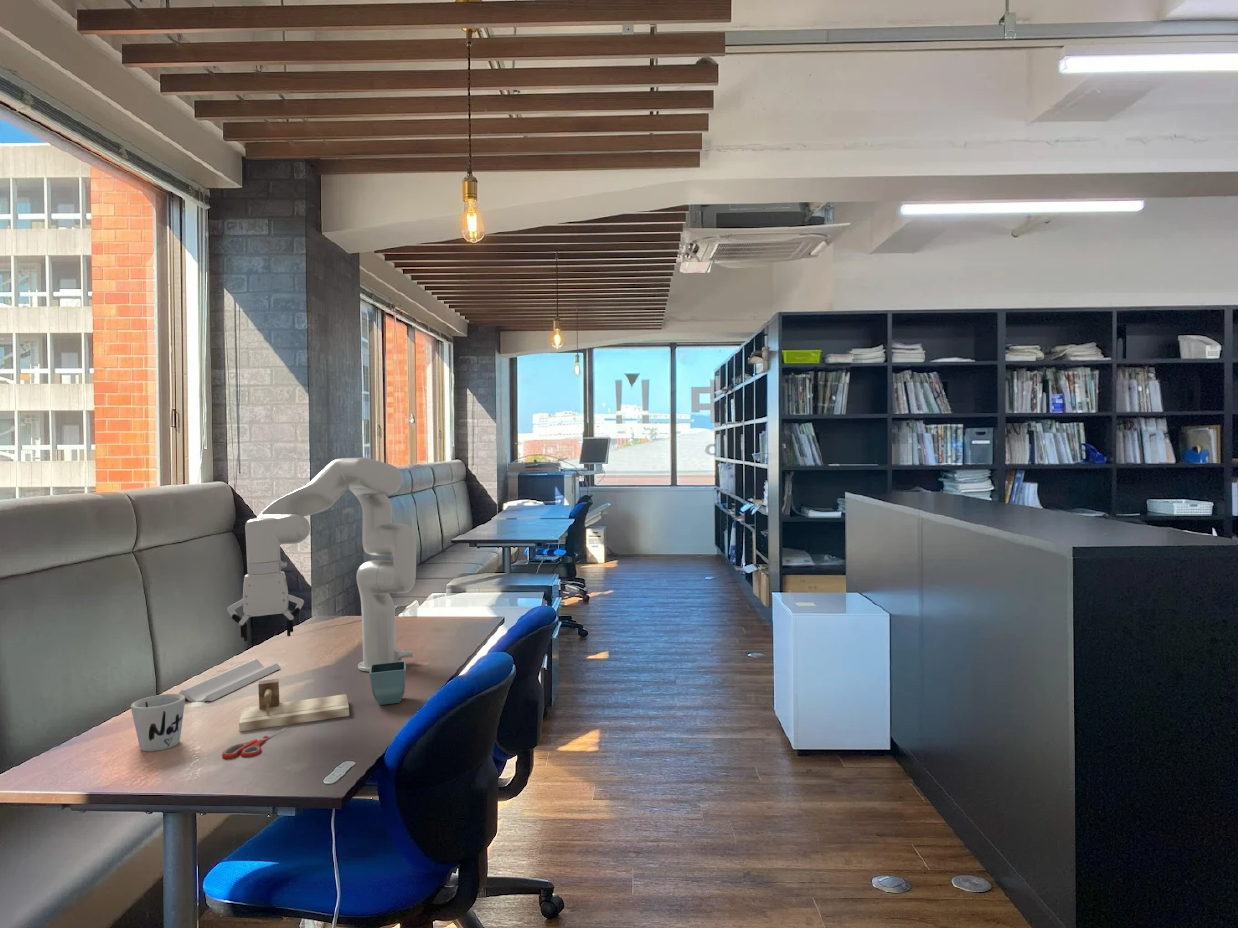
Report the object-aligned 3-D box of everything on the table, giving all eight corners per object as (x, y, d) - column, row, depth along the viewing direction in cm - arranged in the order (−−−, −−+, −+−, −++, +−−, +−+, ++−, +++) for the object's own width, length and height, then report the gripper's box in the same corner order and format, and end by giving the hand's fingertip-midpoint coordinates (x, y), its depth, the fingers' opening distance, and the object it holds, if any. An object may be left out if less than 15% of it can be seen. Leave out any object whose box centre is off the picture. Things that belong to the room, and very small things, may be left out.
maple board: (346, 701, 203) (346, 693, 203) (349, 715, 191) (348, 707, 191) (242, 715, 194) (242, 707, 194) (239, 731, 183) (238, 722, 183)
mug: (148, 757, 168) (146, 710, 168) (112, 745, 176) (110, 700, 176) (196, 741, 177) (195, 697, 177) (160, 731, 185) (158, 688, 185)
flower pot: (370, 709, 196) (369, 672, 196) (371, 698, 205) (370, 664, 205) (407, 704, 199) (406, 669, 198) (407, 694, 207) (405, 660, 207)
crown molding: (211, 704, 206) (211, 690, 206) (170, 703, 208) (169, 690, 208) (280, 670, 237) (280, 658, 237) (243, 670, 239) (243, 658, 239)
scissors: (296, 726, 187) (295, 720, 187) (253, 760, 166) (253, 753, 166) (263, 726, 187) (263, 720, 187) (217, 761, 166) (217, 754, 166)
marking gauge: (279, 707, 198) (278, 677, 198) (278, 722, 186) (277, 690, 186) (260, 709, 197) (259, 679, 196) (257, 725, 185) (256, 693, 185)
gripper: (302, 563, 201) (305, 630, 202) (226, 569, 195) (229, 638, 195) (302, 567, 194) (305, 636, 195) (223, 573, 188) (227, 645, 188)
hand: (267, 637), depth 195 cm, fingers open, 9 cm apart
